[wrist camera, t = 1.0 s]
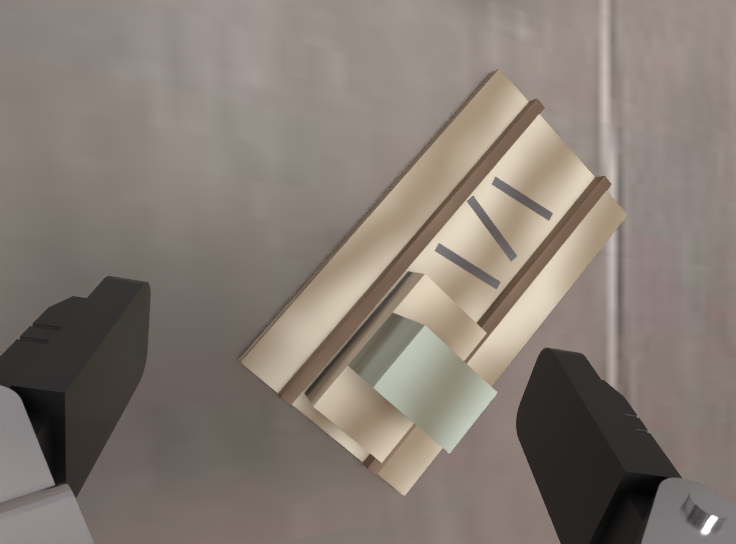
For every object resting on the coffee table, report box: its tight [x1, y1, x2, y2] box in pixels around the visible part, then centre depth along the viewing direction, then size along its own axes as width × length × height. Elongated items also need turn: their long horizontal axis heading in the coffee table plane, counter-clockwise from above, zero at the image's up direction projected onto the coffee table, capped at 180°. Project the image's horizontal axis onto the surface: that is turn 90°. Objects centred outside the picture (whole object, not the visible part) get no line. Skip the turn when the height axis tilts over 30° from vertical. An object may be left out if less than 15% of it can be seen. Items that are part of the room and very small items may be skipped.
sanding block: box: [305, 271, 498, 463], centre depth 33 cm, size 6×10×8 cm, turn 138°
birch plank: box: [239, 69, 628, 496], centre depth 38 cm, size 14×25×2 cm, turn 138°
